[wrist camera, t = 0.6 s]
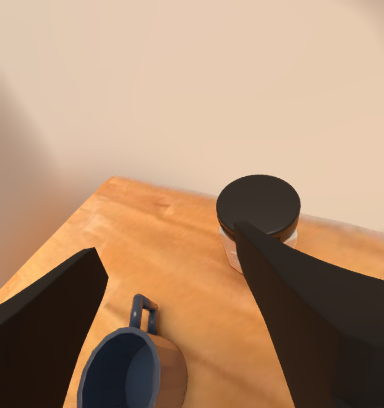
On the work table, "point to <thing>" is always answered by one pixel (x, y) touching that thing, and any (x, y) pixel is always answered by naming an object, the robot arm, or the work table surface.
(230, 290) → the work table surface
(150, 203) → the work table surface
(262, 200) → the jar
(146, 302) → the mug
